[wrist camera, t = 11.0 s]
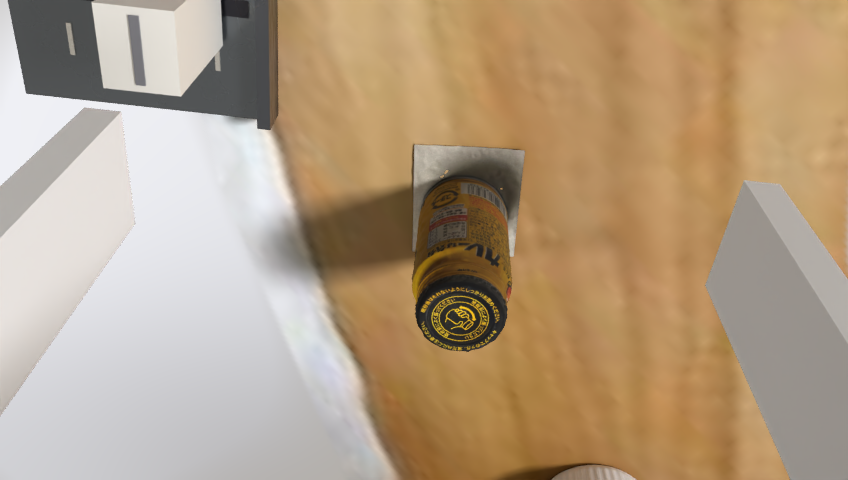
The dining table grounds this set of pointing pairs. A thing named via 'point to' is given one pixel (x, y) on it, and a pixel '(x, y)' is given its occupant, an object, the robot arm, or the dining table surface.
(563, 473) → the ramekin
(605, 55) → the dining table surface
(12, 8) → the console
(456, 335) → the condiment
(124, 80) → the fader ivory
